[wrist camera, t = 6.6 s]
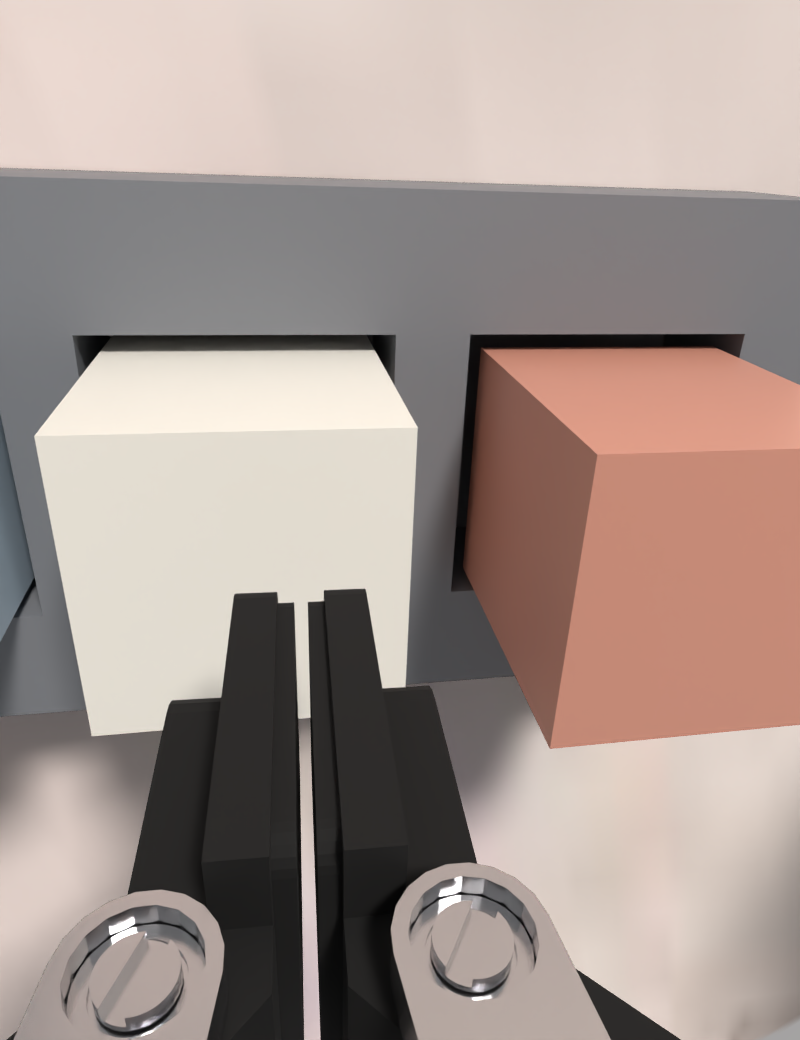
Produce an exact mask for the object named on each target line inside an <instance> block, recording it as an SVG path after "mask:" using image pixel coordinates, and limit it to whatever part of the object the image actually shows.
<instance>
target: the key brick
mask: <svg viewBox="0 0 800 1040" xmlns="http://www.w3.org/2000/svg"><path fill="white" fill-rule="evenodd" d="M463 568H464V571H465V573H466V575H467V577H468V579H469V581H470V583H471V585H472V587H473V589H474V591H475V593H476V596H477V598H478V600H479V602H480V604H481V606H482V608H483V610H484V612H485V614H486V616H487V619H488V621H489V623H490V625H491V627H492V629H493V631H494V633H495V635H496V637H497V639H498V641H499V644H500V646H501V648H502V650H503V652H504V654H505V656H506V658H507V660H508V662H509V664H510V666H511V669H512V671H513V673H514V675H515V677H516V679H517V681H518V683H519V685H520V687H521V689H522V692H523V694H524V696H525V698H526V700H527V702H528V704H529V706H530V708H531V710H532V712H533V714H534V717H535V719H536V721H537V723H538V725H539V727H540V729H541V731H542V733H543V735H544V737H545V739H546V742H547V744H548V746H549V748H550V749H552V748H563V747H573V746H584V745H594V744H604V743H615V742H625V741H635V740H646V739H656V738H667V737H677V736H687V735H698V734H708V733H718V732H729V731H739V730H750V729H760V728H770V727H781V726H791V725H800V385H799V384H796V383H794V382H792V381H790V380H787V379H785V378H783V377H781V376H778V375H776V374H774V373H772V372H769V371H767V370H765V369H763V368H760V367H758V366H756V365H754V364H751V363H749V362H747V361H745V360H742V359H740V358H738V357H736V356H733V355H731V354H729V353H727V352H724V351H722V350H720V349H718V348H715V347H713V346H706V347H507V348H481V354H480V366H479V378H478V390H477V402H476V414H475V426H474V439H473V451H472V463H471V475H470V487H469V499H468V511H467V523H466V536H465V548H464V560H463Z"/></svg>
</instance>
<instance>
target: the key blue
mask: <svg viewBox="0 0 800 1040" xmlns="http://www.w3.org/2000/svg"><path fill="white" fill-rule="evenodd" d="M34 577H35V576H34V571H33V566H32V562H31V557H30V552H29V547H28V543H27V538H26V533H25V528H24V524H23V519H22V514H21V509H20V505H19V500H18V495H17V490H16V486H15V481H14V476H13V471H12V467H11V462H10V457H9V452H8V447H7V443H6V438H5V433H4V428H3V424H2V419H1V414H0V641H1V640H2V638H3V636H4V634H5V632H6V630H7V628H8V626H9V624H10V622H11V620H12V619H13V617H14V615H15V613H16V611H17V609H18V607H19V605H20V603H21V601H22V599H23V598H24V596H25V594H26V592H27V590H28V588H29V586H30V584H31V582H32V580H33V578H34Z"/></svg>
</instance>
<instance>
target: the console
mask: <svg viewBox="0 0 800 1040" xmlns="http://www.w3.org/2000/svg"><path fill="white" fill-rule="evenodd" d="M112 335H367V337H368V339H369V341H370V343H371V344H372V346H373V348H374V350H375V352H376V353H377V355H378V357H379V359H380V361H381V362H382V364H383V366H384V368H385V370H386V371H387V373H388V375H389V377H390V379H391V380H392V382H393V384H394V386H395V388H396V389H397V391H398V393H399V395H400V397H401V398H402V400H403V402H404V404H405V406H406V407H407V409H408V411H409V413H410V415H411V416H412V418H413V420H414V422H415V424H416V425H417V427H418V432H417V453H416V475H415V496H414V517H413V538H412V559H411V580H410V602H409V623H408V644H407V665H406V684H419V683H431V682H444V681H457V680H469V679H482V678H494V677H507V676H515V675H514V673H513V671H512V669H511V666H510V664H509V662H508V660H507V658H506V656H505V654H504V652H503V650H502V648H501V646H500V644H499V641H498V639H497V637H496V635H495V633H494V631H493V629H492V627H491V625H490V623H489V621H488V619H487V616H486V614H485V612H484V610H483V608H482V606H481V604H480V602H479V600H478V598H477V596H476V593H475V591H474V589H473V587H472V585H471V583H470V581H469V579H468V577H467V575H466V573H465V571H464V568H463V560H464V548H465V536H466V523H467V511H468V499H469V487H470V475H471V463H472V451H473V439H474V426H475V414H476V402H477V390H478V378H479V366H480V354H481V348H507V347H706V346H713V347H715V348H718V349H720V350H722V351H724V352H727V353H729V354H731V355H733V356H736V357H738V358H740V359H742V360H745V361H747V362H749V363H751V364H754V365H756V366H758V367H760V368H763V369H765V370H767V371H769V372H772V373H774V374H776V375H778V376H781V377H783V378H785V379H787V380H790V381H792V382H794V383H796V384H799V385H800V197H796V196H786V195H775V194H765V193H755V192H741V191H709V190H678V189H646V188H615V187H584V186H552V185H521V184H489V183H458V182H426V181H395V180H364V179H332V178H301V177H269V176H238V175H206V174H175V173H144V172H112V171H81V170H49V169H18V168H0V414H1V419H2V424H3V428H4V433H5V438H6V443H7V447H8V452H9V457H10V462H11V467H12V471H13V476H14V481H15V486H16V490H17V495H18V500H19V505H20V509H21V514H22V519H23V524H24V528H25V533H26V538H27V543H28V547H29V552H30V557H31V562H32V566H33V571H34V576H35V577H34V578H33V580H32V582H31V584H30V586H29V588H28V590H27V592H26V594H25V596H24V598H23V599H22V601H21V603H20V605H19V607H18V609H17V611H16V613H15V615H14V617H13V619H12V620H11V622H10V624H9V626H8V628H7V630H6V632H5V634H4V636H3V638H2V640H1V641H0V717H2V716H15V715H27V714H40V713H52V712H65V711H78V710H87V709H86V704H85V698H84V693H83V688H82V683H81V678H80V672H79V667H78V662H77V657H76V652H75V646H74V641H73V636H72V631H71V626H70V620H69V615H68V610H67V605H66V599H65V594H64V589H63V584H62V579H61V573H60V568H59V563H58V558H57V553H56V547H55V542H54V537H53V532H52V527H51V521H50V516H49V511H48V506H47V501H46V495H45V490H44V485H43V480H42V474H41V469H40V464H39V459H38V454H37V448H36V443H35V438H34V436H35V434H36V433H37V432H38V431H39V429H40V428H41V427H42V425H43V424H44V423H45V422H46V420H47V419H48V418H49V416H50V415H51V414H52V413H53V411H54V410H55V409H56V407H57V406H58V405H59V404H60V402H61V401H62V400H63V398H64V397H65V396H66V395H67V393H68V392H69V391H70V389H71V388H72V387H73V386H74V384H75V383H76V382H77V380H78V379H79V378H80V377H81V375H82V374H83V373H84V371H85V370H86V369H87V368H88V366H89V365H90V364H91V362H92V361H93V360H94V359H95V357H96V356H97V355H98V353H99V352H100V351H101V350H102V348H103V347H104V346H105V344H106V343H107V342H108V341H109V339H110V338H111V337H112Z"/></svg>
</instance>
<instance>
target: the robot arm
mask: <svg viewBox="0 0 800 1040" xmlns="http://www.w3.org/2000/svg"><path fill="white" fill-rule="evenodd" d="M308 636H309V679H310V722H311V764H312V796H313V826H314V855H315V885H316V914H317V944H318V973H319V1003H320V1032H321V1040H680V1039H679V1038H677V1037H676V1036H674V1035H673V1034H672V1033H670V1032H669V1031H667V1030H666V1029H664V1028H663V1027H661V1026H660V1025H658V1024H657V1023H655V1022H654V1021H652V1020H651V1019H649V1018H648V1017H646V1016H645V1015H643V1014H642V1013H640V1012H639V1011H638V1010H636V1009H635V1008H633V1007H632V1006H630V1005H629V1004H627V1003H626V1002H624V1001H623V1000H621V999H620V998H618V997H617V996H615V995H614V994H612V993H611V992H609V991H608V990H606V989H605V988H603V987H602V986H601V985H599V984H598V983H596V982H595V981H593V980H592V979H590V978H589V977H587V976H586V975H584V974H583V973H581V972H580V971H578V970H577V969H575V967H574V965H573V963H572V961H571V959H570V956H569V954H568V952H567V950H566V948H565V946H564V944H563V942H562V940H561V938H560V936H559V934H558V932H557V930H556V928H555V926H554V924H553V922H552V920H551V918H550V916H549V914H548V913H547V911H546V910H545V908H544V907H543V906H542V904H541V903H540V901H539V900H538V898H537V897H536V895H535V894H534V893H533V892H532V891H531V890H529V889H528V888H527V887H526V886H525V885H523V884H522V883H521V882H520V881H519V880H518V879H516V878H515V877H513V876H511V875H509V874H507V873H505V872H503V871H501V870H498V869H496V868H494V867H491V866H486V865H480V864H477V861H476V857H475V853H474V849H473V846H472V842H471V838H470V834H469V830H468V826H467V822H466V818H465V814H464V811H463V807H462V803H461V799H460V795H459V791H458V787H457V783H456V779H455V775H454V772H453V768H452V764H451V760H450V756H449V752H448V748H447V744H446V740H445V737H444V733H443V729H442V725H441V721H440V717H439V713H438V709H437V705H436V701H435V698H434V695H433V692H432V689H431V688H430V686H417V687H399V688H382V683H381V677H380V671H379V665H378V659H377V653H376V647H375V641H374V635H373V629H372V623H371V617H370V611H369V605H368V599H367V593H366V589H340V590H324V601H317V602H308ZM7 1040H304V1011H303V946H302V881H301V815H300V762H299V731H298V701H297V670H296V640H295V610H294V602H292V603H278V594H277V592H263V593H237V594H234V598H233V606H232V614H231V622H230V630H229V639H228V647H227V655H226V663H225V671H224V680H223V688H222V696H221V698H205V699H187V700H172V701H171V702H170V704H169V706H168V710H167V713H166V718H165V722H164V727H163V732H162V736H161V741H160V746H159V750H158V755H157V760H156V764H155V769H154V774H153V778H152V783H151V788H150V792H149V797H148V802H147V806H146V811H145V816H144V821H143V825H142V830H141V835H140V839H139V844H138V849H137V853H136V858H135V863H134V867H133V872H132V877H131V881H130V886H129V891H128V895H126V896H123V897H120V898H118V899H115V900H112V901H109V902H108V903H106V904H104V905H103V906H101V907H100V908H98V909H97V910H95V911H93V912H92V913H90V914H89V915H87V916H86V917H84V918H83V919H82V920H81V921H80V922H79V923H78V924H77V925H76V926H75V927H74V928H73V929H72V930H71V931H70V932H69V933H68V934H67V935H66V936H65V937H64V938H63V939H62V941H61V943H60V944H59V946H58V948H57V949H56V951H55V952H54V954H53V956H52V957H51V959H50V961H49V962H48V964H47V966H46V968H45V970H44V973H43V975H42V977H41V979H40V982H39V984H38V986H37V988H36V990H35V993H34V995H33V997H32V999H31V1002H30V1004H29V1006H28V1008H27V1011H26V1013H25V1015H24V1017H23V1020H22V1022H21V1024H20V1026H19V1028H18V1031H17V1032H15V1033H14V1034H13V1035H12V1036H11V1037H10V1038H8V1039H7Z"/></svg>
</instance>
